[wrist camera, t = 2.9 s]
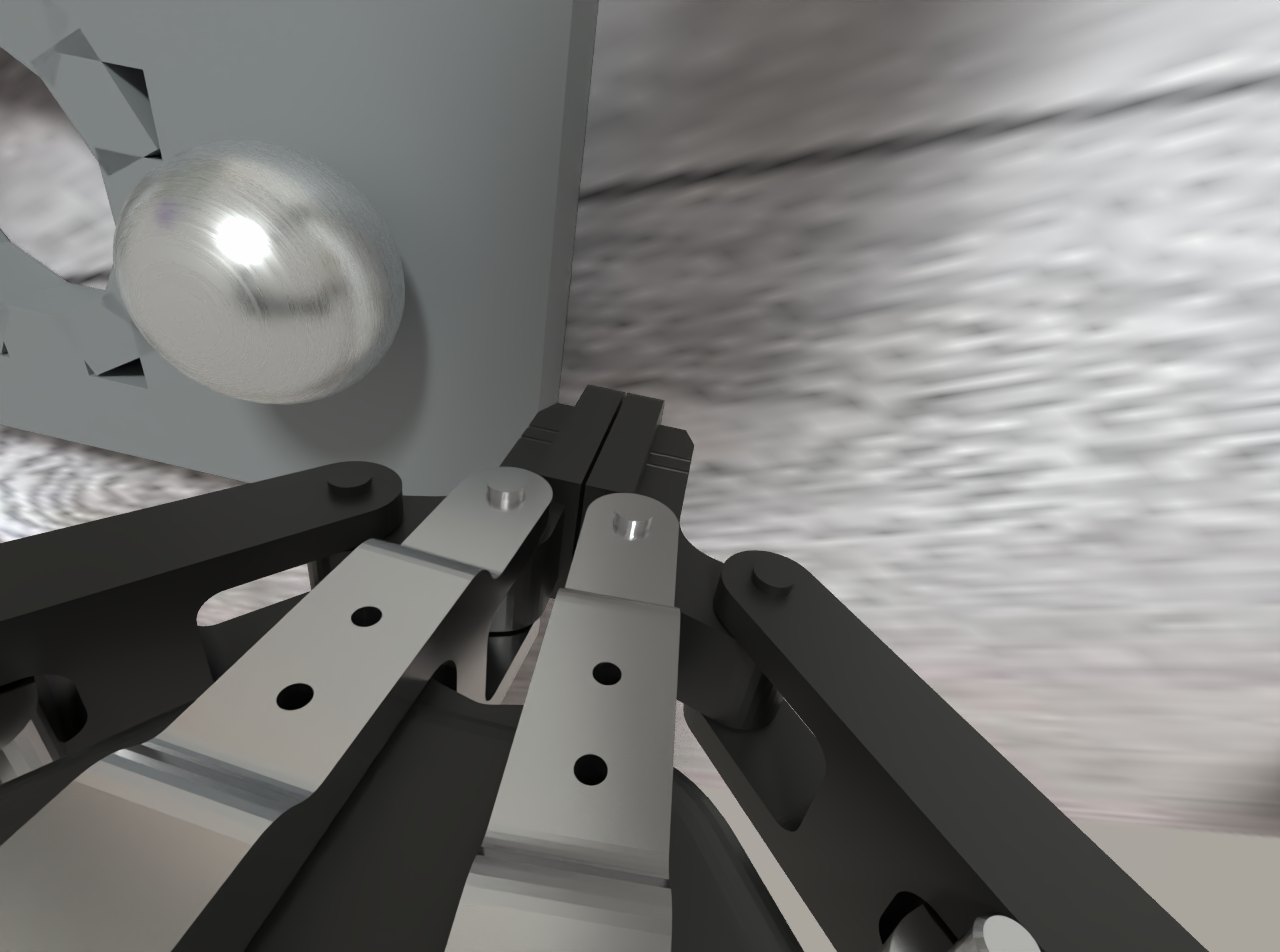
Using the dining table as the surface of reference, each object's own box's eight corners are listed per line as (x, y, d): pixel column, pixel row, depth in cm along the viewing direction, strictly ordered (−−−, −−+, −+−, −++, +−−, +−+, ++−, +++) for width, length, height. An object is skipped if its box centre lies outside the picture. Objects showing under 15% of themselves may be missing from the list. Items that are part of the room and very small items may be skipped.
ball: (220, 111, 17) (-16, 123, 12) (443, 155, 16) (299, 188, 11) (257, 331, 20) (85, 416, 15) (444, 372, 20) (332, 473, 15)
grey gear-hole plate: (-309, -272, 16) (-467, -324, 14) (610, -111, 15) (584, -142, 13) (-29, 375, 26) (-99, 401, 24) (546, 508, 25) (527, 547, 23)
